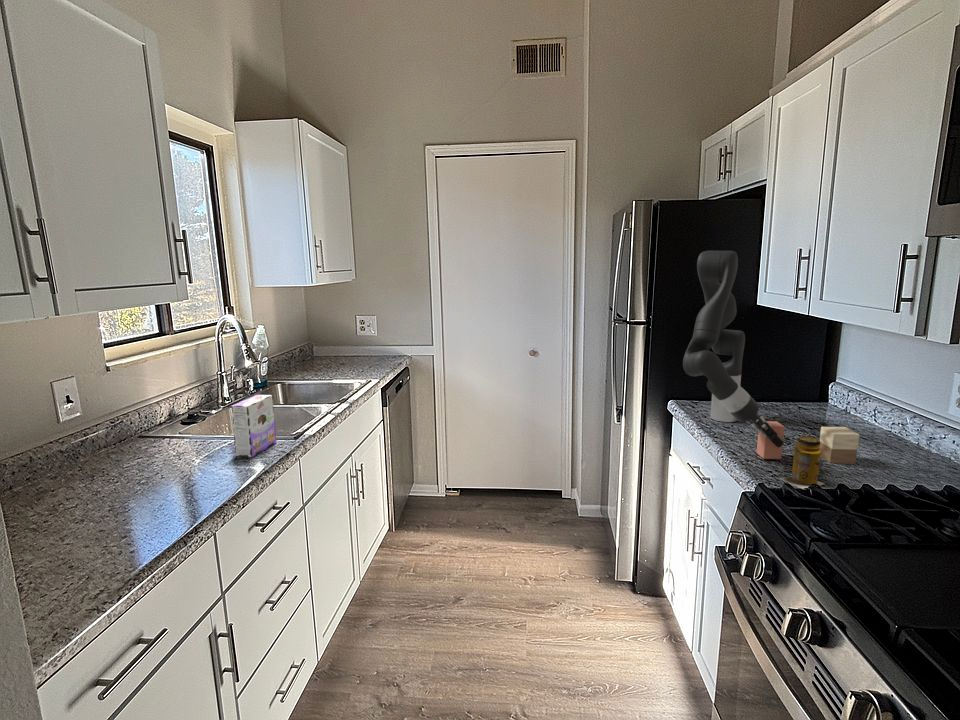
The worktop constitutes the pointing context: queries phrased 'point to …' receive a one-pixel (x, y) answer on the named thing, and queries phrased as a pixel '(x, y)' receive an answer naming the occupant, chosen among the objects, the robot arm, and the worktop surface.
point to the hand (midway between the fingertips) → (776, 441)
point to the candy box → (253, 425)
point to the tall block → (770, 442)
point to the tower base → (838, 455)
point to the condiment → (805, 463)
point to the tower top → (839, 438)
